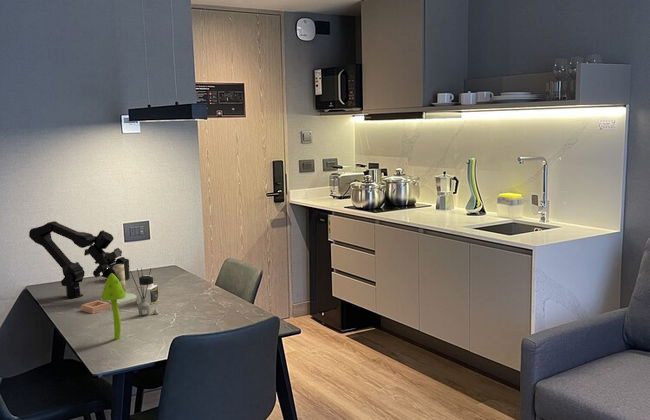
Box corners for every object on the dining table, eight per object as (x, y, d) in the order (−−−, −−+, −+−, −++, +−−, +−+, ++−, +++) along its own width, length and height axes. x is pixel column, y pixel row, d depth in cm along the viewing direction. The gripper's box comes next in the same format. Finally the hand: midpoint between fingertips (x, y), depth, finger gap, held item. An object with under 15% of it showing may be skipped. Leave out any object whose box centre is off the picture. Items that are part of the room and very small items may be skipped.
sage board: (100, 300, 284) (100, 299, 284) (124, 293, 294) (124, 292, 294) (118, 304, 276) (117, 303, 276) (142, 297, 287) (142, 296, 286)
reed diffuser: (134, 318, 256) (130, 270, 253) (132, 313, 262) (129, 267, 260) (159, 314, 260) (156, 268, 257) (157, 310, 266) (154, 264, 263)
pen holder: (112, 278, 326) (110, 259, 324) (130, 276, 328) (129, 258, 326) (110, 282, 317) (108, 263, 315) (129, 280, 319) (128, 261, 317)
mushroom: (123, 333, 238) (118, 269, 235) (132, 338, 232) (127, 272, 228) (101, 338, 233) (96, 273, 229) (110, 344, 226) (105, 277, 223)
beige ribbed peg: (114, 296, 283) (112, 266, 281) (117, 293, 287) (115, 264, 285) (124, 296, 283) (121, 266, 281) (127, 293, 287) (125, 264, 285)
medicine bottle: (151, 304, 275) (149, 278, 273) (136, 304, 276) (134, 278, 274) (158, 300, 282) (157, 274, 280) (144, 299, 283) (142, 274, 281)
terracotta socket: (81, 310, 269) (81, 305, 269) (98, 305, 276) (98, 300, 276) (93, 313, 264) (92, 308, 264) (110, 308, 271) (109, 303, 271)
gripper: (96, 247, 274) (120, 273, 272) (121, 239, 292) (143, 263, 290) (82, 264, 277) (106, 290, 276) (108, 255, 295) (130, 279, 293)
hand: (122, 280), depth 284 cm, fingers closed on beige ribbed peg, 4 cm apart
